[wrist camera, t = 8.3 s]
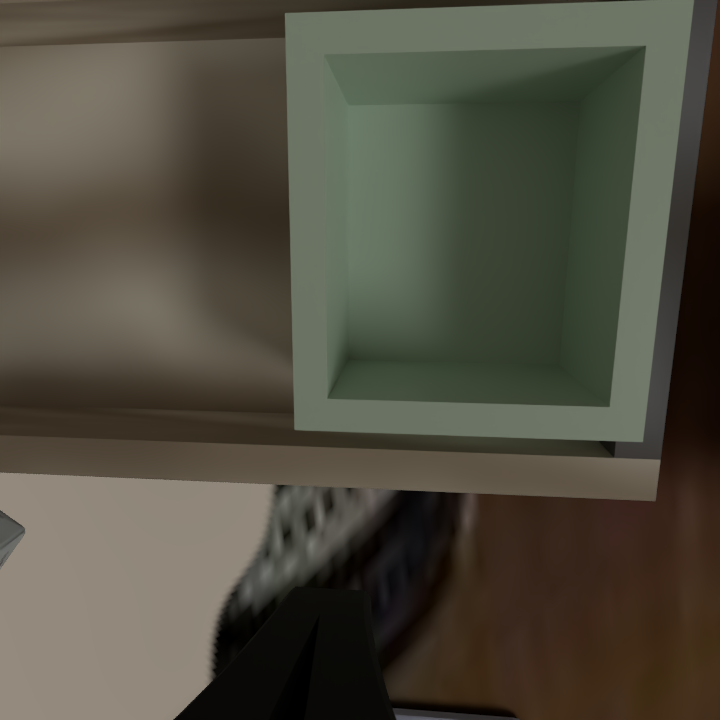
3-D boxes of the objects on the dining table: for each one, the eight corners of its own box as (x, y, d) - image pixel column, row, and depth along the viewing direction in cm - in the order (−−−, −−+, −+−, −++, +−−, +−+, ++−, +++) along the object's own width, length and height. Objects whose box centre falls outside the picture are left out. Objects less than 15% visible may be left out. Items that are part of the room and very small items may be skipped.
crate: (577, 384, 18) (643, 442, 13) (327, 377, 18) (294, 430, 13) (603, 77, 16) (694, -2, 11) (324, 83, 16) (284, 12, 11)
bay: (605, 448, 19) (655, 501, 15) (6, 426, 21) (-86, 468, 17) (651, -7, 16) (727, -86, 12) (-50, 18, 18) (-177, -43, 14)
